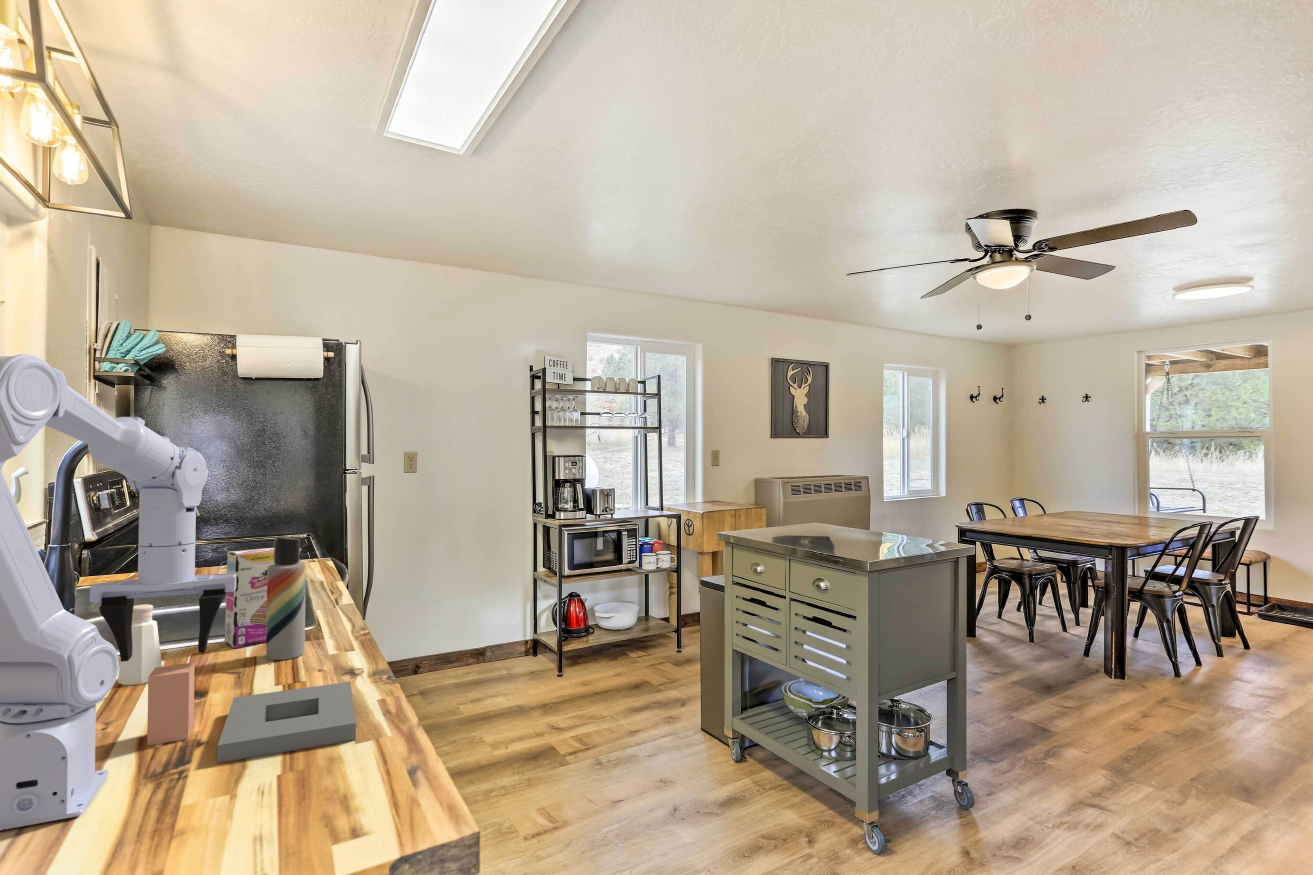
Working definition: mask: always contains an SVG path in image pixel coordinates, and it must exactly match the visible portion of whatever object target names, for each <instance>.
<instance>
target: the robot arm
mask: <svg viewBox="0 0 1313 875" xmlns="http://www.w3.org/2000/svg"><path fill="white" fill-rule="evenodd" d="M67 383H68V382H67V378H66V375H65V373H64V371H62V370H60V369H58V368H57V367H56V368H55V367H53V366H51V365H50V364H49V363H48V362H47V361H45V360H44V359H42V358H41V357H38V356H35V355H32V354H16V355H6V356H5V355H4V356H3V355H0V831H4V829H5V830H10V829H11V830H12V829H15V828H21V827H25V826H31V825H38V824H42V823H48V822H53V821H58V820H59V821H60V820H65V819H69V818H74V817H79V816H81V815H82V814H83V813H84V812H85V810H86V809H87V807H88V806H89V804H90V803H91V801H92V799H93V798H94V797H95V795H96V794H97V792H98V790H99V788H100V787H101V786H102V784H103V782H104V781H105V780H106V778H107V776H108V775H109V770H108V769H99V770H96V735H97V734H96V731H97V730H96V726H97V722H96V721H97V705H98V704H101V703H102V702H104V700H105V699H104V698H105V697H106V696H107V695H108V693H109V692H110V691H111V689H112V688H113V686H114V685H115V682H116V680H117V679H118V676H119V669H120V662H123V661H128V660H129V659H130V658H131V657H132V649H133V646H132V615H133V606H135V605H134V604H135V599H139V598H140V599H141V598H153V597H154V598H156V597H167V596H168V597H169V596H180V595H181V596H182V595H193V594H194V595H195V594H201V595H200V597H199V598H198V606H199V632H198V633H199V634H198V643H197V653H198V654H203V653H206V651H207V649H208V642H209V637H210V633H211V629H212V627H213V624H214V622H215V621H214V620H215V619H216V616H217V614H218V611H219V610H220V607H221V605H222V603H223V601H224V599H225V598H226V593H227V592H234V591H235V590H236V574H229V575H226V574H195V573H196V572H195V571H196V536H197V535H196V530H197V529H196V526H197V525H196V523H197V522H196V521H197V519H196V518H197V506H200V504H201V502H202V493H203V489H204V487H205V485H206V483H207V480H208V477H209V468H207V463H206V460H205V458H204V456H203V455H202V453H201V452H199V451H197V450H196V449H195V448H193V447H189V446H187V447H186V446H185V447H182V446H179V447H178V446H177V445H176V444H175V443H173V442H171V439H170V438H168V437H167V436H165V435H160V434H158V433H157V432H156V431H154V430H152V429H150V428H149V427H147V426H145V423H146V421H145V420H144V419H143V418H141V417H139V416H119V417H118V416H117V417H112V416H111V415H109V414H107V413H106V412H105V411H103V410H102V408H99V407H98V406H96V405H95V404H94V403H93V402H91V401H90V400H88V399H87V398H86V397H84V396H83V395H82V394H81V393H79V392H78V391H77V390H75V389H73V388H72V387H71V386H69V385H68V384H67ZM44 426H46V427H49V428H51V429H53V430H56V431H58V432H60V433H63V434H64V435H67V436H69V437H72V438H74V439H75V440H78V441H79V442H82V443H84V444H87V449H88V453H89V456H90V457H91V458H92V459H93V460H94V461H95V462H98V464H101V465H103V466H105V467H107V468H109V469H111V470H113V471H116V472H117V473H119V474H121V475H123V476H125V479H126V481H127V483H128V485H129V487H130V488H131V490H132V491H133V492H138V493H139V497H138V498H139V499H138V500H139V504H138V505H139V507H138V509H139V511H138V546H137V547H138V548H137V549H138V551H137V554H138V555H137V556H138V557H137V560H138V561H137V563H138V564H137V578H136V579H128V580H119V581H118V580H117V581H110V582H109V581H108V582H99V583H98V582H97V583H96V582H95V583H93V584H92V585H90V587H89V603H100V602H101V604H100V606H99V607H98V611H99V613H100V615H101V617H102V618H103V619H104V620H105V622H106V623H107V625H108V627H109V629H110V630H111V632H112V635H113V637H114V640H115V642H116V645H117V649H118V651H117V649H116V647H115V646H114V645H113V644H112V643H111V642H109V641H107V640H106V639H104V638H103V637H102V635H101V634H100V632H99V630H98V627H97V626H96V625H95V624H93V623H91V622H89V621H87V620H86V619H84V618H82V617H79V616H78V615H75V614H73V613H71V612H69V611H67V610H66V609H64V608H65V607H64V606H63V604H62V601H61V600H60V598H59V595H58V593H57V591H56V589H55V586H54V584H53V582H52V580H51V578H50V576H49V573H48V571H47V569H46V567H45V565H44V562H43V560H42V558H41V555H40V554H39V551H38V549H37V547H36V545H35V543H34V540H33V538H32V536H31V534H30V532H29V529H28V527H27V525H26V523H25V520H24V518H23V517H22V513H21V512H20V510H19V508H18V505H17V503H16V500H15V499H14V497H13V495H12V492H11V490H10V488H9V486H8V483H7V480H6V479H5V476H4V474H3V472H2V468H3V467H4V464H5V463H6V461H8V460H11V459H12V458H14V457H16V456H19V454H20V453H21V452H22V451H23V450H24V448H26V446H27V445H28V444H29V443H30V442H31V441H32V439H34V437H36V435H37V434H38V433H39V432H40V430H41V429H42V428H43V427H44ZM118 652H119V654H118ZM119 657H120V658H119Z"/></svg>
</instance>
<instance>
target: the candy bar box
mask: <svg viewBox="0 0 1313 875" xmlns="http://www.w3.org/2000/svg"><path fill="white" fill-rule="evenodd" d="M226 553H227V554H226V574H225V575H229V574H236V590H235V591H234V592H227V593H226V595H225V612H224V616H225V617H224V644H225V645H227V646H229V647H230V648H232V649H238V648H243V647H248V646H254V645H258V644H263V643H266V627H267V569H268V566H270V565H274V547H267V548H256V549H245V550H235V551H234V550H233V551H228V552H227V551H226ZM298 563H302V548H300V553H299V562H298Z"/></svg>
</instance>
